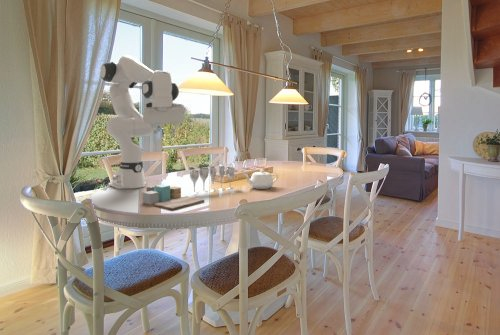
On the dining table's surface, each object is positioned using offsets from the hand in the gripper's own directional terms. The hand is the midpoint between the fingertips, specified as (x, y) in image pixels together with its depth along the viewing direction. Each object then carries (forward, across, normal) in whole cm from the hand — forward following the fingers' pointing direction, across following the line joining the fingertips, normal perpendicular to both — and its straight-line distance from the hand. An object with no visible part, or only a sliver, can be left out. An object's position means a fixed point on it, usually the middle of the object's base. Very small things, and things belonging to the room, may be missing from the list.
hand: (164, 133), depth 169 cm
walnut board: (+33, -9, +9) cm, 36 cm away
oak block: (+32, -2, -3) cm, 32 cm away
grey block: (+33, +5, +10) cm, 34 cm away
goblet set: (+32, -18, -22) cm, 43 cm away
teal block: (+32, +1, +3) cm, 33 cm away
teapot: (+32, -43, -36) cm, 65 cm away
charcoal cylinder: (+32, +9, -1) cm, 33 cm away
